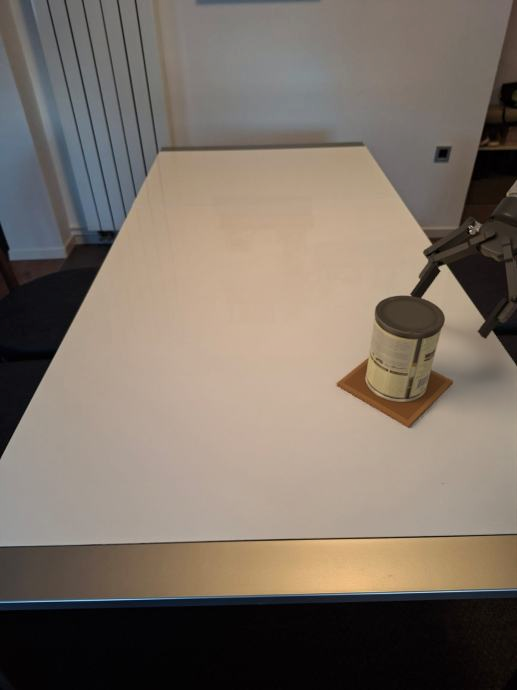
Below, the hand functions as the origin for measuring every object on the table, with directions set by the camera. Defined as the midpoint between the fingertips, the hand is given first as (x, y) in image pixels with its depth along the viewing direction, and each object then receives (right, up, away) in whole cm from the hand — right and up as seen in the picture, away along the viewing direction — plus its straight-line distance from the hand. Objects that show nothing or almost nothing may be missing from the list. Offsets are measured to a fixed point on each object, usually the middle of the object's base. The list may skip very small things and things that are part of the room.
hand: (445, 315), depth 83 cm
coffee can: (-8, -11, +1) cm, 14 cm away
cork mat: (-8, -12, +1) cm, 14 cm away
